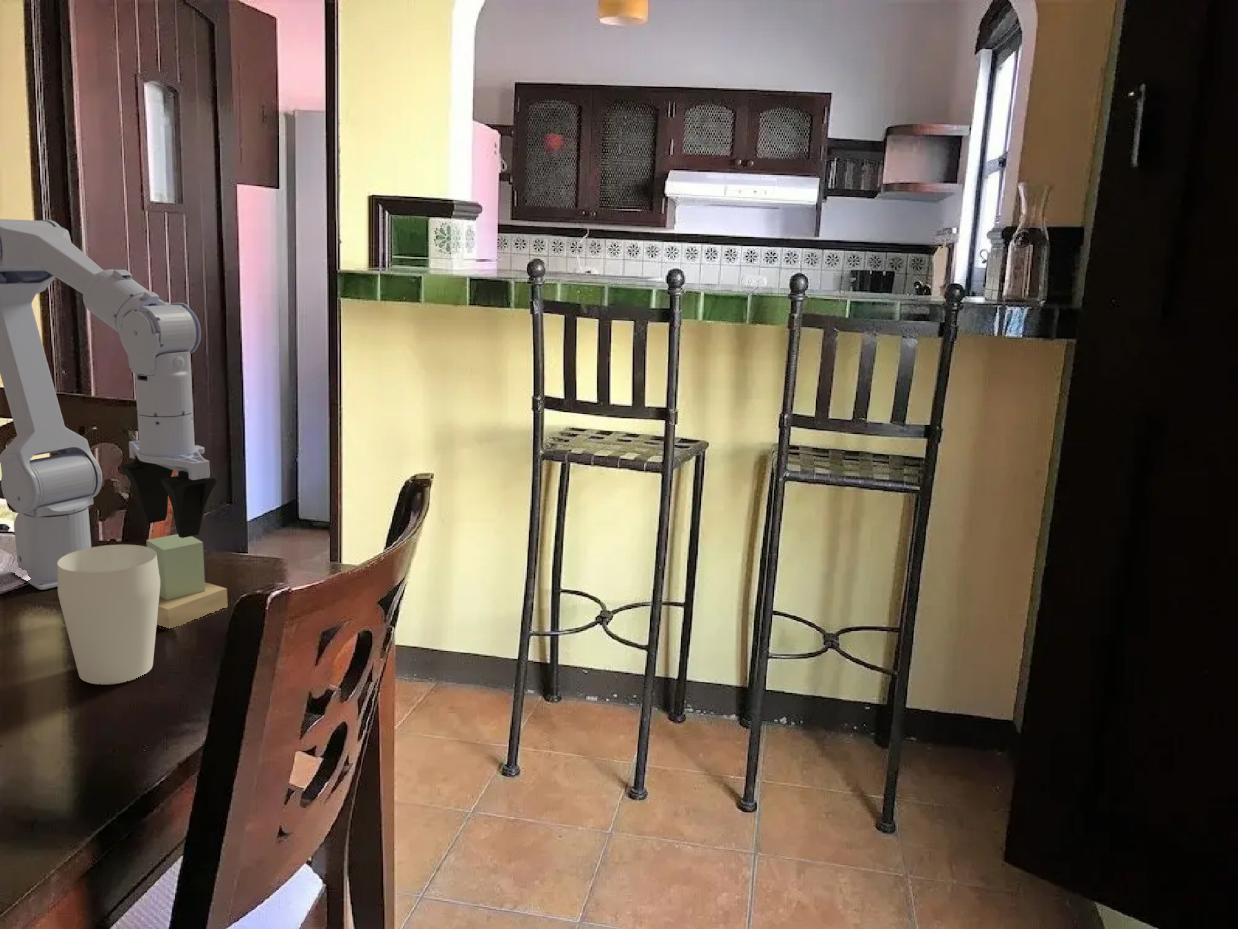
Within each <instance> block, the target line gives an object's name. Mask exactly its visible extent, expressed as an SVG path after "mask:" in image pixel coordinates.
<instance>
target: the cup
mask: <svg viewBox="0 0 1238 929" xmlns="http://www.w3.org/2000/svg"><path fill="white" fill-rule="evenodd" d="M57 594H58V595H57V596H58V600H59V604H60V607H61V611H62V615H63V619H64V623H65V626H66V627H65V628H66V631H67V634H68V640H69V642H70V646H71V650H72V654H73V657H74V662H75V665H76V669H77V673H78V677H79V679H81V680H82V681H84V682H86V683H88V684H93V685H99V684H100V685H102V686H103V685H116V684H118V685H119V684H123V683H127V681H128V682H130V681H133V680H137V679H138V677H139V678H141V677H143V676H144V674H145V675H146V674H147V673H149V672H151V670H152V668H153V667H154V658H155V657H154V656H155V655H154V654H155V648H156V647H155V645H156V634H157V627H158V626H157V615H158V605H159V594H160V575H159V569H158V561H157V553H156V551H155V550H153V549H151V548H148V547H147V546H144V545H140V544H139V545H136V544H107V545H98V546H91V548H87V549H82V550H78V551H75V552H72V553H69V554H67V555H65V556H63V557H62V558H60V559H59V561H58V586H57ZM142 675H143V676H142ZM140 676H141V677H140ZM136 678H137V679H136Z"/></svg>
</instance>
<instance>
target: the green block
mask: <svg viewBox="0 0 1238 929" xmlns="http://www.w3.org/2000/svg"><path fill="white" fill-rule="evenodd" d="M146 547H148V548H151V549H153V550H155V551H156V553H157V561H158V569H159V575H160V594H159V596H161V597H162V598H164V599H165V600H169V599H174V598H178V597H182V596H186V595H190V594H195V593H199V592H203V591H205V582H206V579H205V578H206V577H205V560H204V558H205V557H204V556H205V555H204V542H203V541H201V540H200V539H198V538H196V537H194V536H190V537H185V538H181V537H179V535H178V533H176V534H172V535H171V534H170V535H165V536H161V537H160V536H159V537H156V538H150V539H146Z"/></svg>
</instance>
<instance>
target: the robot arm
mask: <svg viewBox="0 0 1238 929" xmlns="http://www.w3.org/2000/svg"><path fill="white" fill-rule="evenodd" d="M132 276H133V274H132V273H131V272H130V271H128V270H127V269H115V268H113V269H112V268H110V269H103V268H102V267H100V266H99V265H98V264H97V263H96V262H95V261H94V260H92V259H91V258H90V257H89V256H87V255H86V254H85V253H84V252H83V251H82V250H81V249H79V248H78V247H77V246H76V245H75V244H73V242H72V240H71V235H70V232H69V230H68V229H66V228H65V227H62V226H60V224H58V222H56V221H54V220H51V219H41V220H37V219H36V220H34V219H33V220H32V219H30V220H29V219H28V220H27V219H9V218H8V219H6V218H4V219H3V218H0V379H1V383H2V385H3V391H4V394H5V397H6V400H7V403H8V407H9V410H10V414H11V417H12V421H13V425H14V429H15V433H16V435H15V436H16V437H15V438H14V439H13V440H12V441H11V442H10V443H9V444H8V445H7V446H6V448H4V450H2V452H1V453H0V470H1V477H0V478H1V479H0V486H1V491H2V495H3V497H4V499H5V501H6V503H7V504H9V506H11V508H12V509H13V510H14V511H15V513H17V515H16V517H14V518H15V519H14V524H13V530H14V541H15V550H16V552H15V553H16V559H17V560H16V561H17V562H16V563H17V567H19V568H21V569H22V570H26V571H27V573H28V576H29V577H30V578H31V579H30V580H28V582H27V583H28V584H30V585H31V586H33V587H34V588H36V589H38V590H41V591H42V590H48V589H52V588H56V587H57V588H58V561H59V559H60V558H62V557H63V556H65V555H67V554H69V553H72V552H75V551H78V550H82V549H87V548H92V539H91V525H90V514H89V506H91V505H94V497H96V496H97V495H98V494H99V493H100V490H101V488H102V484H103V473H102V468H101V466H100V464H99V462H98V461H97V459H96V457H94V455H93V453H92V450H91V448H90V444H89V442H88V439H87V438H85V437H83V436H82V435H80V434H79V433H77V432H75V431H73V430H71V429H69V428H68V427H66V426H65V421H64V418H63V414H62V411H61V407H60V403H59V400H58V396H57V392H56V390H55V386H54V382H53V378H52V374H51V372H50V367H49V363H48V360H47V357H46V356H47V355H46V353H45V348H44V345H43V341H42V338H41V335H40V331H39V327H38V323H37V319H36V317H35V313H34V308H33V305H32V303H33V301H34V298H35V297H36V295H37V294H40V293H42V292H44V291H46V290H47V288H48V287H49V286H50V285H51V283H52V282H53V281H54V280H55V278H56V279H58V280H60V281H61V282H63V283H65V284H66V285H67V286H70V287H71V288H73V289H74V290H76V291H78V292H79V293H80V294H82V301H83V304H84V306H85V308H86V310H88V311H89V312H90V313H91V314H93V315H94V316H95V317H97V318H98V319H99V320H101V321H102V322H103V323H105V325H107V326H108V327H111V329H113V330H114V331H115V332H116V333H118V335H119V340H120V342H121V345H122V347H123V349H124V350H125V352H126V355H127V358H128V368H129V369H130V372H131V373H132V374H134V381H135V382H134V383H135V398H136V411H137V414H136V415H137V416H136V417H137V428H138V440H132V441H128V449H129V450H128V451H129V452H128V453H129V458H130V459H133V462H131V463H124V464H123V465H121V470H122V472H123V473H124V474H125V476H126V478H127V479H128V480H129V482H130V484H131V486H132V488H133V489H134V492H135V494H136V497H137V500H138V503H139V506H140V508H141V513H142V515H143V518H144V521H145V522H146V524H154V523H159V522H165V521H167V515H168V509H169V508H168V507H169V501H170V504H171V508H172V512H173V519H174V523H175V524H174V525H175V530H176V534H178V535H179V537H181V538H185V537H190V536H192V537H194V536H197V535H199V534H200V531H201V526H202V522H203V518H204V513H205V508H206V505H207V503H208V500H209V498H210V495H211V493H212V491H213V489H214V488H215V487H216V485H217V483H218V475H215V474H213V473H211V472H210V471H211V470H210V460H208V459H205V458H204V457H203V456H202V454H205V447H204V446H201V445H197V444H195V428H194V408H193V407H194V406H193V387H192V385H193V384H192V366H191V365H192V364H191V354H193V353H194V352H195V351H196V350H197V349H198V347H199V345H200V343H201V340H202V329H201V324H200V321H199V319H198V317H197V314H196V313H195V312H194V311H193V310H192V309H191V308H190V307H189V305H187V304H186V303H184V302H173V303H169V302H166V301H163V300H162V299H161V298H160V296H159V295H158V294H157V293H156V292H154V291H149V290H148V289H147V288H145V287H144V286H143V285H141V284H140V283H138V282H137V281H136V280H134V279H133V278H132ZM55 453H56V455H52V456H46V457H40V458H35V459H32V458H33V457H35V456H40V455H45V454H55ZM174 471H175V472H178V475H174V476H173V473H174Z"/></svg>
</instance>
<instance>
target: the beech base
mask: <svg viewBox="0 0 1238 929" xmlns="http://www.w3.org/2000/svg"><path fill="white" fill-rule="evenodd" d="M228 606H229V604H228V589H227V587H223V586H219V585H216V584H212V583H210V582H209V583H208V582H206V581H205V591H203V592H199V593H195V594H190V595H186V596H182V597H178V598H174V599H169V600H165V599H164V598H162V597H161V596H159V605H158V615H157V625H159V626H163V627H166V628H169V629H170V628H173V627H176V626H180V627H182V626H184V625H183V624H185V625H187V624H186V623H187V622H190V621H192V620H194V619H198V620H200V619H199V618H200V617H203V616H205V615H207V614H209V613H214V612H215V611H219V610H220V609H222V608H227V607H228ZM228 608H229V607H228ZM214 614H215V613H214ZM190 623H191V622H190ZM181 625H182V626H181Z"/></svg>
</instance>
